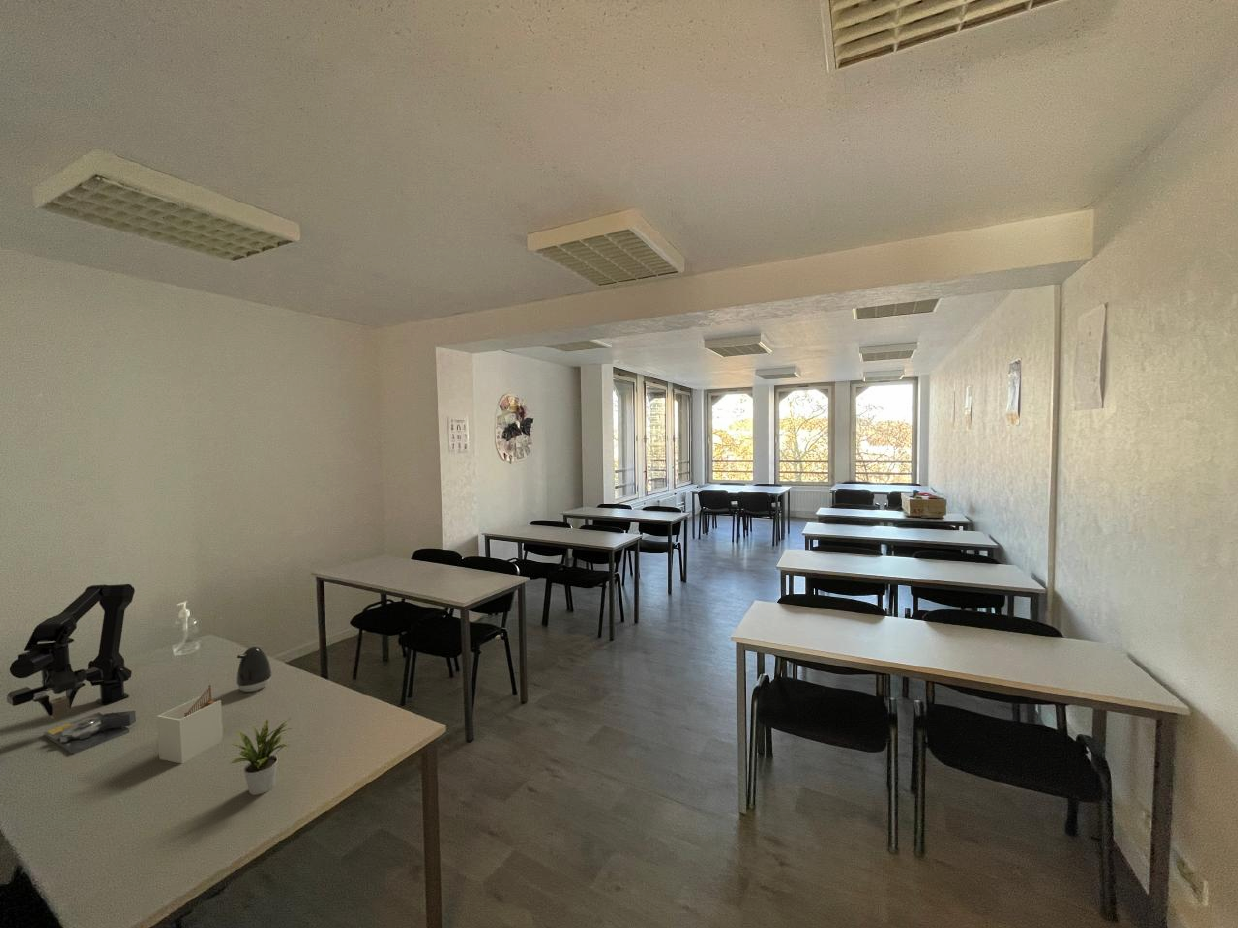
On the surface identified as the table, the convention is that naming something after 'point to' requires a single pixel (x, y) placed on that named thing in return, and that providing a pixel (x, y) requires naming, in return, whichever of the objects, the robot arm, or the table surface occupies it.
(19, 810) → the table surface
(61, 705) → the striped gift box
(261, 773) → the house plant
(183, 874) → the table surface
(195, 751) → the white planter box
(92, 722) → the sprocket
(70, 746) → the base plate
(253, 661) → the pump dispenser
